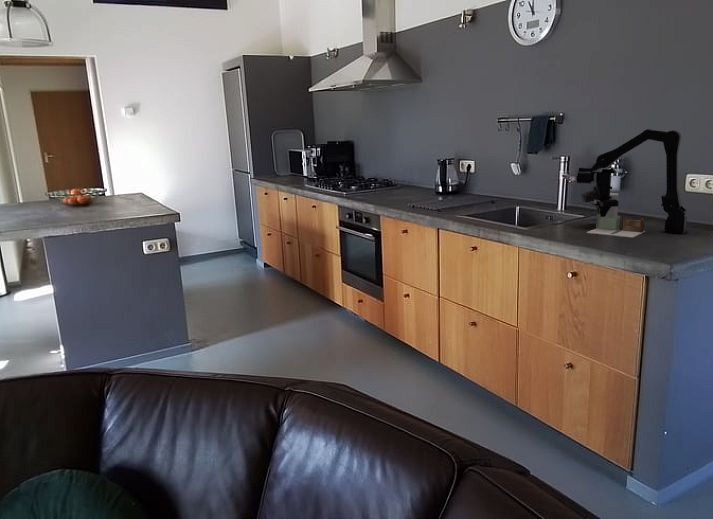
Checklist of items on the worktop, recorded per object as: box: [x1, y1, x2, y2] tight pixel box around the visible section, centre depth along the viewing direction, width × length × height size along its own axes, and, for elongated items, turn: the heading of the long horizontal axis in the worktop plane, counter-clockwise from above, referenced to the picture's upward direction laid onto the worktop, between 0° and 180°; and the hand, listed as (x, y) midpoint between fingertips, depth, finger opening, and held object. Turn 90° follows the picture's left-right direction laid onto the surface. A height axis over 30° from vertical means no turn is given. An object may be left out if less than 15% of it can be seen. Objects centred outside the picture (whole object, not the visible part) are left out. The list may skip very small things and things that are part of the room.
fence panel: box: [595, 213, 621, 230], centre depth 228 cm, size 9×1×6 cm, turn 45°
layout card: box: [585, 227, 646, 239], centre depth 222 cm, size 18×14×1 cm
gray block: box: [605, 192, 620, 218], centre depth 248 cm, size 8×8×12 cm
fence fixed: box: [619, 216, 645, 232], centre depth 221 cm, size 9×1×6 cm, turn 45°
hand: (601, 220), depth 232 cm, fingers closed
